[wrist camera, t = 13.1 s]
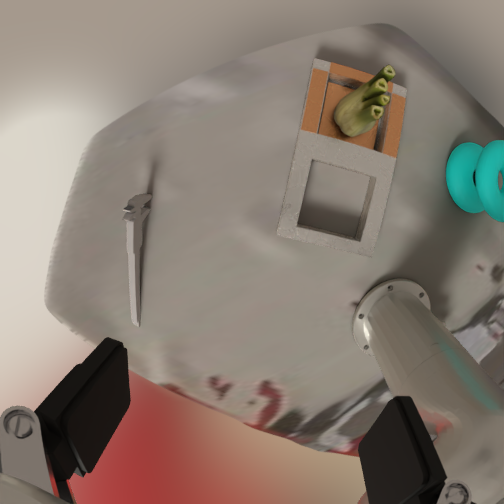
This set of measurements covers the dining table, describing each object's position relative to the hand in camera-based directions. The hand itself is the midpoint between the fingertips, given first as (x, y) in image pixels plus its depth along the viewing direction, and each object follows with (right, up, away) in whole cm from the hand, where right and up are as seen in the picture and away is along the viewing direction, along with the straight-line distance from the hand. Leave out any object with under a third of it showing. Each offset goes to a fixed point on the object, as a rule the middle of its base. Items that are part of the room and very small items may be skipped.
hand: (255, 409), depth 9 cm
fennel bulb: (+12, +22, +22) cm, 34 cm away
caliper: (-16, +3, +30) cm, 34 cm away
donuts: (+31, +16, +23) cm, 41 cm away
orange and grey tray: (+11, +17, +24) cm, 31 cm away
